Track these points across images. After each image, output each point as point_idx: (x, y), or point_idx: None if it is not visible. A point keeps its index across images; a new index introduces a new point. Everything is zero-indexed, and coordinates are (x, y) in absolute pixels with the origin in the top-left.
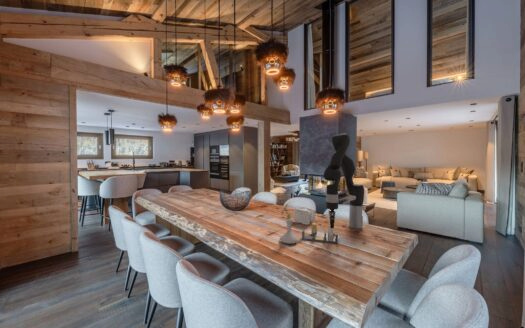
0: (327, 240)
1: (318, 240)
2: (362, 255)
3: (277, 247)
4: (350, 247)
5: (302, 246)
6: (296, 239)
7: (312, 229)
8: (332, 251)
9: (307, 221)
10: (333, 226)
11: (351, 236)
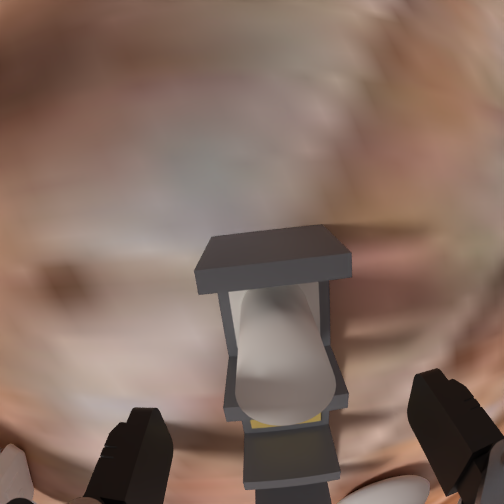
0: (320, 334)
1: None
2: (483, 34)
3: None
4: (375, 91)
5: None
6: (405, 488)
7: None
8: (495, 256)
9: (16, 466)
10: (449, 392)
11: (34, 107)
